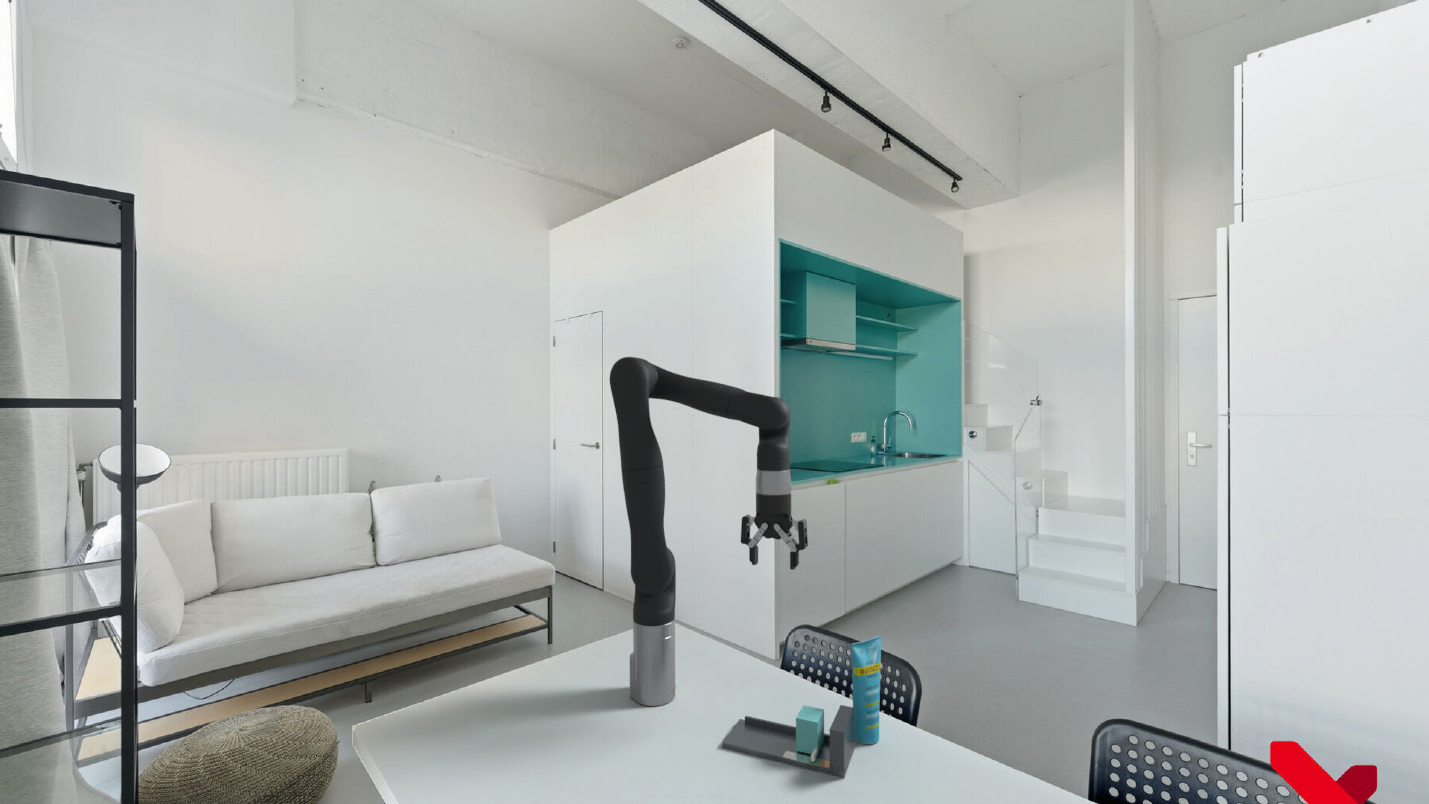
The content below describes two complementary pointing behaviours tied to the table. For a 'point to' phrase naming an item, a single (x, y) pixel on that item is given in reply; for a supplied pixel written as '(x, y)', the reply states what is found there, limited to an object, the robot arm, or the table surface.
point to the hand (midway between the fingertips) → (773, 566)
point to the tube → (866, 689)
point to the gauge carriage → (810, 730)
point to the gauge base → (781, 743)
